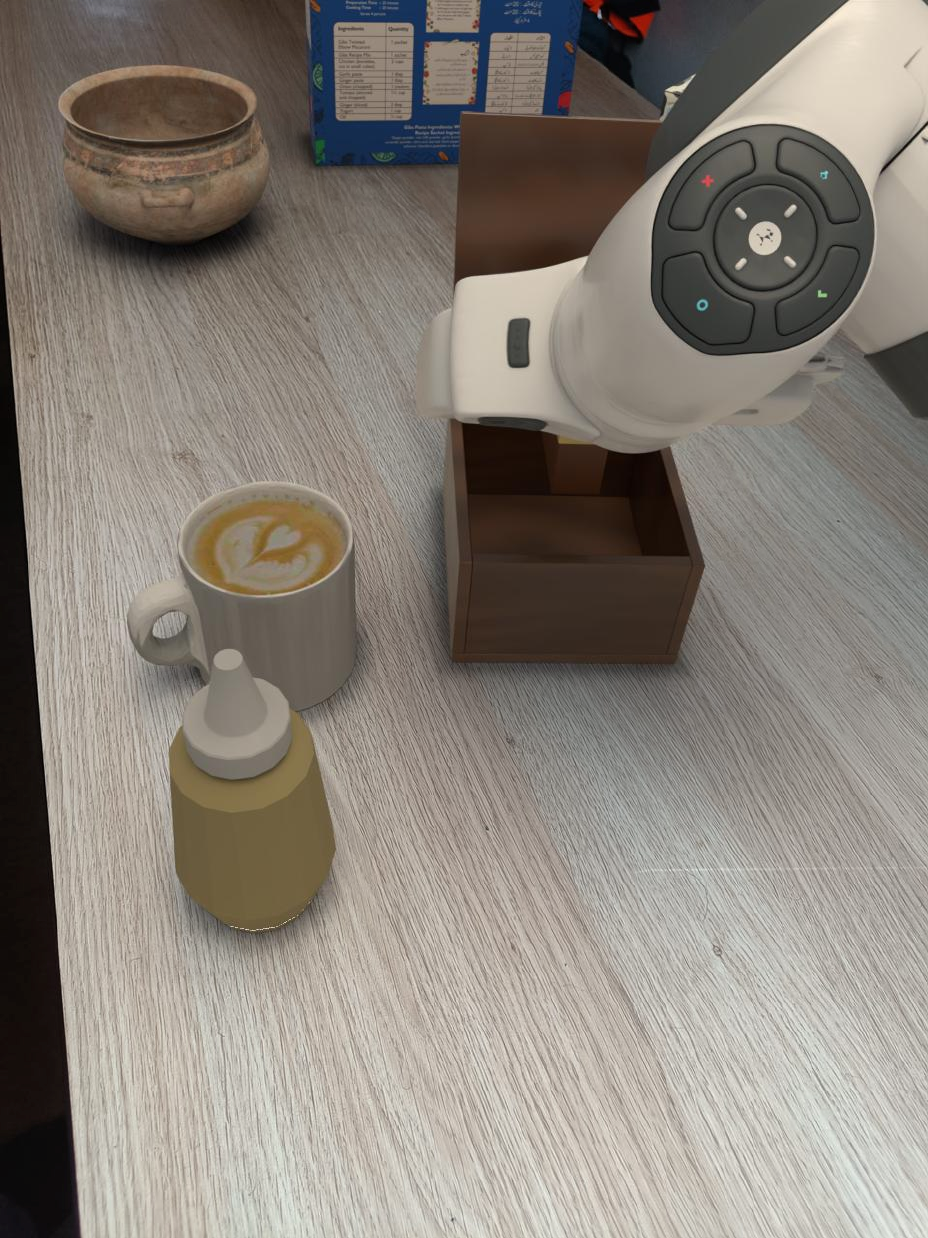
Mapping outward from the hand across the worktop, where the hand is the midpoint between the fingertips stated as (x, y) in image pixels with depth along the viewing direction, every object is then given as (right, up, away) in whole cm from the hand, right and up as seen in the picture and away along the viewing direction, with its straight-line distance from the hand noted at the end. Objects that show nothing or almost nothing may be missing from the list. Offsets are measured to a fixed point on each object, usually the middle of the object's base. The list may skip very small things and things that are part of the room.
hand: (584, 405), depth 63 cm
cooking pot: (-35, +26, +43) cm, 61 cm away
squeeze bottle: (-18, -27, -6) cm, 33 cm away
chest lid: (0, +10, +6) cm, 12 cm away
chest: (-1, -9, +12) cm, 15 cm away
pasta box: (-10, +41, +60) cm, 73 cm away
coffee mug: (-21, -15, +5) cm, 26 cm away
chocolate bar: (0, -3, +5) cm, 6 cm away
